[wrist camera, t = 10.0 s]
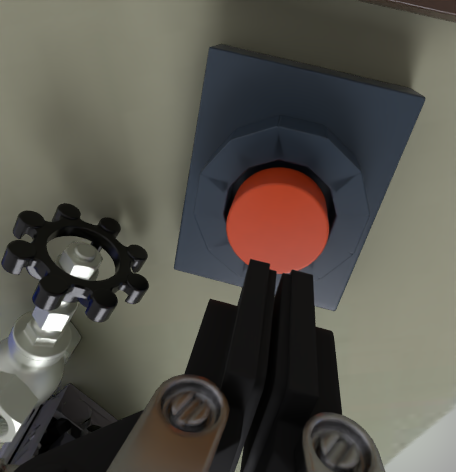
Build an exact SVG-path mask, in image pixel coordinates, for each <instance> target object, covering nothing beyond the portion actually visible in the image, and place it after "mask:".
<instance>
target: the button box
mask: <svg viewBox="0 0 456 472" xmlns="http://www.w3.org/2000/svg"><path fill="white" fill-rule="evenodd" d="M424 102H425V97H424V96H422V95H421V94H419V93H418V92H416V91H414V90H413V89H411V88H408V87H403V86H399V85H395V84H391V83H386V82H382V81H378V80H373V79H369V78H365V77H361V76H356V75H352V74H348V73H344V72H339V71H335V70H331V69H326V68H322V67H318V66H314V65H309V64H305V63H301V62H297V61H292V60H288V59H284V58H279V57H275V56H271V55H267V54H262V53H258V52H254V51H250V50H245V49H241V48H237V47H232V46H228V45H224V44H219V45H215V46H212V47H210V48H209V52H208V58H207V64H206V70H205V77H204V83H203V89H202V95H201V102H200V108H199V114H198V120H197V126H196V133H195V139H194V145H193V151H192V158H191V164H190V170H189V176H188V183H187V189H186V195H185V201H184V208H183V214H182V220H181V226H180V233H179V239H178V245H177V251H176V258H175V264H174V269H175V270H179V271H183V272H187V273H191V274H194V275H198V276H202V277H206V278H210V279H213V280H217V281H221V282H225V283H229V284H233V285H236V286H240V287H243V283H244V280H245V276H246V272H247V269H248V265H247V264H246V263H245V262H243V261H242V260H241V259H240V258H239V257H238V256H237V254H236V253H235V252H234V250H233V249H232V247H231V245H230V243H229V240H228V237H227V232H226V222H227V216H228V213H229V210H230V208H231V205H232V202H233V200H234V197H235V195H236V193H237V190H238V189H239V187H240V186H241V185H242V183H243V182H244V181H245V180H246V179H247V178H249V177H250V176H251V175H253V174H254V173H257V172H259V171H261V170H264V169H268V168H274V167H285V168H291V169H294V170H297V171H300V172H302V173H304V174H305V175H307V176H309V177H310V178H311V179H312V180H313V181H314V182H315V183H316V184H317V185H318V186H319V188H320V189H321V191H322V193H323V195H324V198H325V201H326V206H327V213H328V221H329V236H328V240H327V243H326V246H325V248H324V250H323V251H322V253H321V254H320V255H319V256H318V258H317V259H316V260H315V261H313V262H312V263H311V264H310V265H308V266H307V267H305V268H303V269H301V270H298V271H300V272H304V273H308V274H312V275H313V285H314V305H315V306H317V307H321V308H325V309H328V310H332V311H335V310H336V309H337V306H338V304H339V302H340V299H341V297H342V295H343V292H344V290H345V287H346V285H347V283H348V280H349V278H350V276H351V273H352V271H353V269H354V266H355V264H356V262H357V259H358V257H359V255H360V252H361V250H362V247H363V245H364V243H365V240H366V238H367V236H368V233H369V231H370V229H371V226H372V224H373V222H374V219H375V217H376V215H377V212H378V210H379V207H380V205H381V203H382V200H383V198H384V196H385V193H386V191H387V189H388V186H389V184H390V182H391V179H392V177H393V175H394V172H395V170H396V167H397V165H398V163H399V160H400V158H401V156H402V153H403V151H404V149H405V146H406V144H407V142H408V139H409V137H410V135H411V132H412V130H413V127H414V125H415V123H416V120H417V118H418V116H419V113H420V111H421V109H422V106H423V104H424ZM286 274H290V273H286ZM281 276H282V274H277V275H276V286H275V294H276V291H277V288H278V285H279V282H280V279H281Z"/></svg>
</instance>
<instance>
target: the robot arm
mask: <svg viewBox="0 0 456 472" xmlns="http://www.w3.org/2000/svg"><path fill="white" fill-rule="evenodd" d="M276 275H277V271H274V270H271V269H270V264H269V263H265V262H261V261H257V260H254V259H250V261H249V265H248V269H247V272H246V276H245V280H244V283H243V287H242V291H241V295H240V298H239V302H238V306H235V305H231V304H228V303H224V302H220V301H216V300H213V299H210V300H209V302H208V305H207V308H206V311H205V314H204V317H203V320H202V323H201V326H200V329H199V332H198V335H197V338H196V341H195V344H194V347H193V350H192V353H191V356H190V359H189V362H188V365H187V368H186V371H185V374H182V375H178V376H174V377H171V378H170V379H168V380H166V381H165V382H163V383H162V384H161V385H160V387H159V388H158V389H157V390H156V391H155V393H154V395H153V396H152V398H151V400H150V401H149V403H148V404H147V406H146V408H145V409H144V410H142V411H140V412H137V413H135V414H133V415H130V416H128V417H126V418H123V419H121V420H119V421H116V422H114V423H112V424H110V425H107V426H105V427H103V428H100V429H98V430H96V431H93V432H91V433H89V434H86V435H84V436H82V437H79V438H77V439H75V440H72V441H70V442H68V443H65V444H63V445H61V446H58V447H56V448H54V449H51V450H49V451H47V452H44V453H42V454H40V455H37V456H35V457H33V458H32V459H30V460H28V461H26V462H25V463H23V464H21V465H13V464H5V459H4V458H0V472H235V469H236V466H237V463H238V460H239V457H240V455H241V452H242V449H243V456H242V463H241V470H240V472H385V470H384V466H383V463H382V460H381V457H380V454H379V451H378V449H377V447H376V445H375V443H374V441H373V439H372V438H371V437H370V436H369V434H368V433H367V432H366V431H365V430H364V429H363V428H362V427H361V426H360V425H359V424H357V423H356V422H355V421H353V420H351V419H349V418H348V417H346V416H344V415H342V409H341V399H340V390H339V380H338V371H337V361H336V352H335V342H334V335H333V332H332V331H330V330H326V329H322V328H319V327H316V326H315V305H314V285H313V275H312V274H308V273H304V272H300V271H296V270H291V272H290V274H286V273H282V276H281V279H280V282H279V285H278V288H277V291H276V294H275V286H276ZM274 296H275V297H274ZM243 446H244V448H243Z"/></svg>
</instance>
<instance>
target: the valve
mask: <svg viewBox="0 0 456 472" xmlns="http://www.w3.org/2000/svg"><path fill="white" fill-rule="evenodd" d="M80 216H81V213H80V211H79V209H78V208H77V207H75V206H73V205H71V204H67V203H63V204H60V205H59V206H58V207H57V210H56V212H55V214H54V217H53V219H52V222H48V221H45V220H44V218H43V217H42V216H41V215H40V214H38V213H37V212H34V211H23V212H21V213H20V214H19V215H18V218H17V220H16V223H15V225H14V228H13V234H14V235H15V237H17V238H18V239H21V238H22V237H23V236H24V235H25V234H27V235H29V236H31V237H32V239H33V241H32V243H29V242H26V241H23V240H15V241H12V242H10V243H9V244H8V246H7V248H6V251H5V253H4V256H3V258H2V261H1V264H2V267H3V268H4V269H5V270H6V271H7V272H9V273H11V274H16V275H19V274H20V273H21V270H22V268H23V267H26V269H27V271H28V273H29V274H30V275H31V276H32V277H34V278H36V279H38V280H40V281H39V283H38V285H37V288H36V290H35V292H34V294H33V297H32V299H33V302H34V304H35V305H36V307H35V309H34V311H32V312H29V313H26V314H24V315H22V316H21V317H20V318H19V319H18V320H17V321H16V322H15V324H14V326H13V328H12V331H11V333H10V335H9V337H7V338H6V339H4V340H2V341H1V342H0V442H11V441H12V440H13V438H14V437H15V436H16V434H17V433H18V431H19V430H20V428H21V427H22V425H23V424H24V423H25V421H26V420H27V418H28V417H29V415H30V413H31V411H32V410H33V409H34V408H36V407H37V406H39V405H41V404H42V403H43V402H45V401H46V400H47V399H48V398H49V397H50V396H51V395H52V394H53V393H54V391H55V390H56V389H57V387H58V385H59V383H60V381H61V379H62V376H63V372H64V364H65V363H66V362H67V360H68V359H69V357H70V356H71V354H72V353H73V351H74V349H75V348H76V346H77V344H78V343H79V341H80V339H81V336H80V334H79V332H78V331H77V329H76V328H75V326H74V325H73V324H72V323H71V322H70V319H71V318H72V316H73V314H74V312H75V310H76V309H77V307H78V305H79V304H78V302H80V303H81V304H82V305H83V306H84V307H86V308H87V309H86V311H85V314H86V315H87V317H88V318H89V319H91V320H93V321H95V322H104V321H106V320H107V319H108V318H109V317H110V315H111V314H112V312H113V310H114V309H115V307H116V306H117V303H118V299H117V297H116V295H115V294H114V293H116V292H117V291H118V290H122V291H124V292H126V293H127V294H128V297H127V298H126V300H125V302H127V303H129V304H136V303H138V302H140V300H141V299H142V297H143V296H144V294H145V293H146V291H147V290H148V288H149V284H148V281H147V280H146V278H144V277H143V276H142V275H140V274H136V272H138V271H140V269H141V267H142V266H143V264H144V263H145V261H146V259H147V257H148V254H147V252H146V251H145V249H144V248H142V247H141V246H138V245H130V246H128V247H126V246H123V245H122V244H121V243H120V242H119V241H118V240H117V239H116V237H117V235H118V234H119V232H120V230H121V227H120V224H119V223H118V222H117V221H115V220H114V219H111V218H102V219H101V220H100V222H99V223H98V225H92V224H89V223H86V222H84V221H82V220H81V219H80ZM61 236H77V237H82V238H85V239H88V240H90V241H92V243H91V244H87V243H83V242H72V243H71V244H70V245H69V246H68V247H67V248H66V249H65V250H64V252H63V253H62V254H61V255H59V256H58V258H57V260H56V262H55V263H54V262H53V261H52V259H51V258H50V256H49V254H48V251H47V246H46V245H47V243H48V242H49V241H50V240H52V239H54V238H57V237H61ZM102 248H103V249H104V250H105V251H106V252H107V253H108V254H109V255H110V256H111V258H112V259H113V261H114V264H115V275H114V276H112V277H110V278H109V279H106V280H101V281H95V280H96V278H97V276H98V272H99V271H98V267H99V266H100V264H101V262H102V260H103V258H102V256H101V254H100V251H101V249H102ZM131 268H132V270H133V273H132V272H131Z"/></svg>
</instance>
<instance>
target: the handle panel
mask: <svg viewBox="0 0 456 472" xmlns="http://www.w3.org/2000/svg"><path fill="white" fill-rule="evenodd" d="M358 1H362V2H367V3H371V4H376V5H380V6H384V7H389V8H393V9H398V10H402V11H407V12H411V13H415V14H420V15H424V16H429V17H433V18H438V19H442V20H447V21H451V22H455V23H456V0H358Z"/></svg>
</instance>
